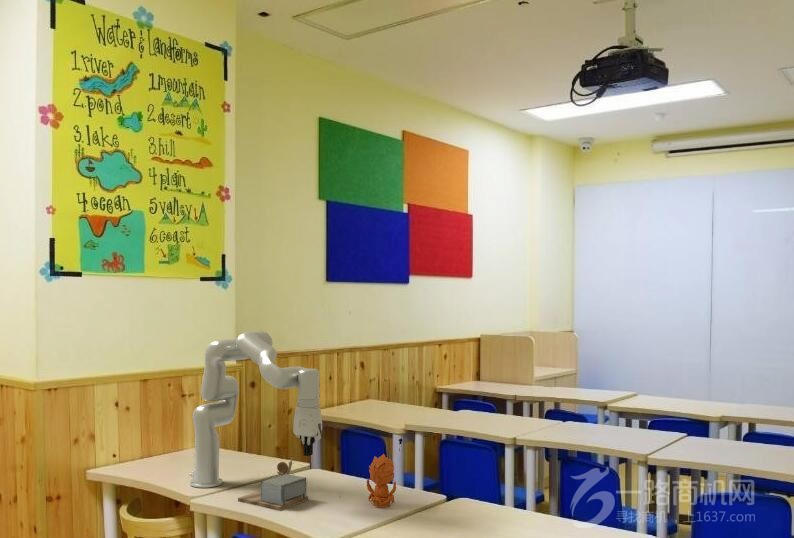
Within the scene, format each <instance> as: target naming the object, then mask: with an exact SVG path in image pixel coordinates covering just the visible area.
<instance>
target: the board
mask: <svg viewBox="0 0 794 538" xmlns="http://www.w3.org/2000/svg"><path fill="white" fill-rule="evenodd" d="M306 501H309V496H307V495H306V497H305V498H304V497H303V495H300V496H297V497H294V498H291V499H288V500H286V501H284V505H283V506H282V505H277V504H273V503H268V502H264V501H261V489H260V490H258V491H254V492H251V493H249V494H246V495H243V496H240V497H237V502H240V503H245V504H248V505H252V506H258V507H261V508H267V509H271V510H274V511H282V510H284V509H288V508H290V507H293V506H296V505H298V504H300V503H303V502H306Z"/></svg>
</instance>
